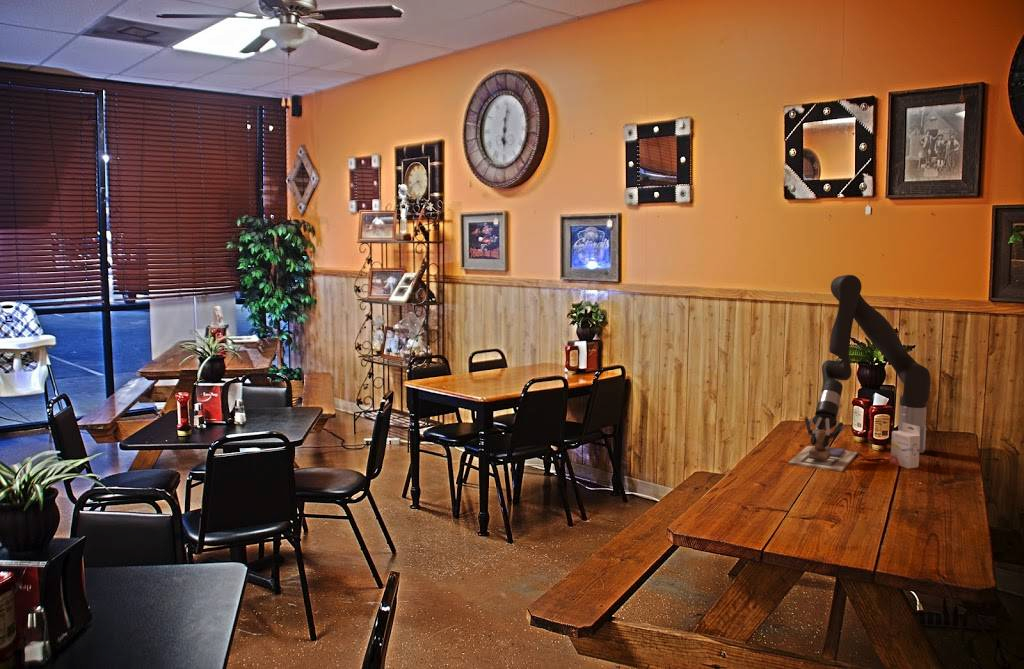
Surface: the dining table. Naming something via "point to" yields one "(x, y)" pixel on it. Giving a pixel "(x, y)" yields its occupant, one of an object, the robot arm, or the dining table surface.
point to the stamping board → (834, 463)
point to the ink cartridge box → (906, 446)
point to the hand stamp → (819, 448)
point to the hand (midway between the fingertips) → (819, 445)
